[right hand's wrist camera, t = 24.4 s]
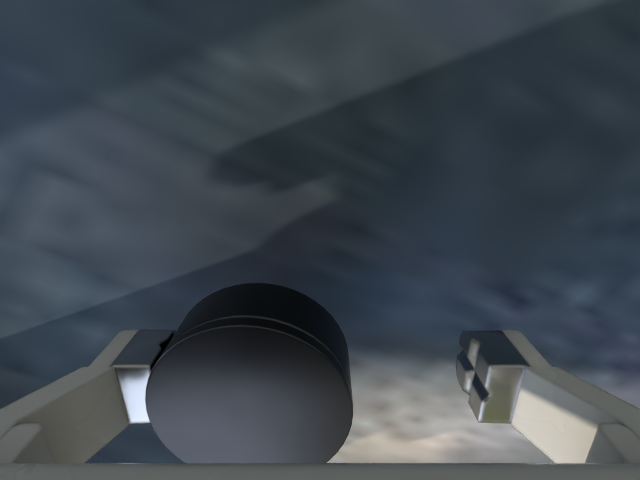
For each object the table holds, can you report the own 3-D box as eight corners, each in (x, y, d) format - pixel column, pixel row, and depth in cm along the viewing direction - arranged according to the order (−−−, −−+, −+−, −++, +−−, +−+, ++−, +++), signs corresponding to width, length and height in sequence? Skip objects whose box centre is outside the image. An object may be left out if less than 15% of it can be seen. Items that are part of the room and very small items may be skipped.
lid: (364, 406, 11) (371, 468, 9) (212, 433, 11) (190, 497, 10) (325, 263, 9) (325, 304, 7) (149, 302, 10) (107, 350, 8)
